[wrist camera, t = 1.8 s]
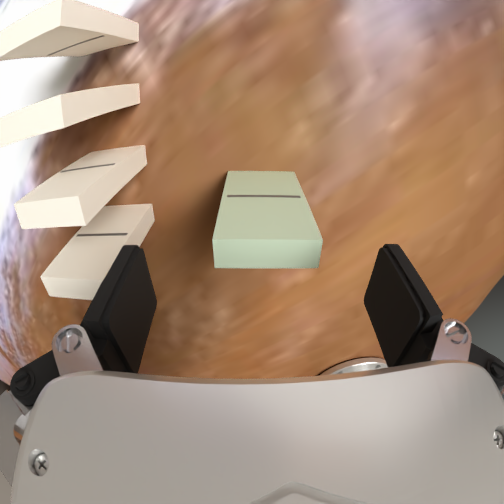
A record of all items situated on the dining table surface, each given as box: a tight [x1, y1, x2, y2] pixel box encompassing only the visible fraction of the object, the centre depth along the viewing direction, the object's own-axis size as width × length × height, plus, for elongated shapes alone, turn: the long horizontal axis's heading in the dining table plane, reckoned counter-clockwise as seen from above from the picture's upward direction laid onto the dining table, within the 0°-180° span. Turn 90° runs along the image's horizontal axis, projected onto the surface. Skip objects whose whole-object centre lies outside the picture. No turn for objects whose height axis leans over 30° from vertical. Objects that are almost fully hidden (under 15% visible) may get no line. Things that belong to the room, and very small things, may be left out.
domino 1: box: [0, 0, 139, 61], centre depth 11 cm, size 2×5×10 cm, turn 90°
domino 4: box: [41, 204, 155, 300], centre depth 19 cm, size 2×5×10 cm, turn 90°
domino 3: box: [14, 145, 147, 229], centre depth 16 cm, size 2×5×10 cm, turn 90°
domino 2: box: [0, 83, 140, 148], centre depth 13 cm, size 2×5×10 cm, turn 90°
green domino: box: [212, 171, 323, 268], centre depth 18 cm, size 2×5×10 cm, turn 90°
